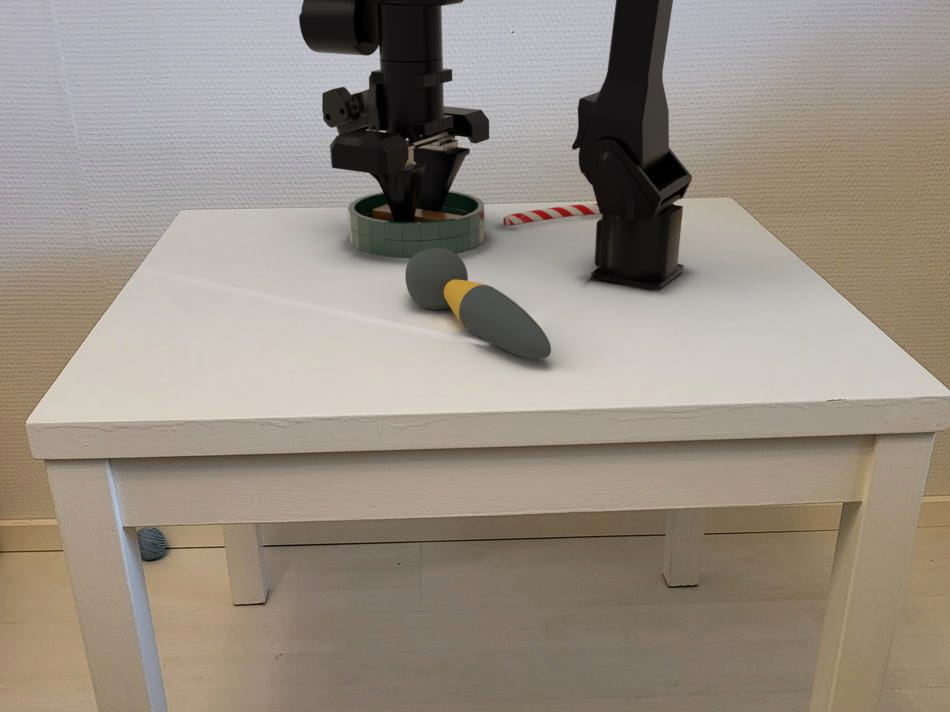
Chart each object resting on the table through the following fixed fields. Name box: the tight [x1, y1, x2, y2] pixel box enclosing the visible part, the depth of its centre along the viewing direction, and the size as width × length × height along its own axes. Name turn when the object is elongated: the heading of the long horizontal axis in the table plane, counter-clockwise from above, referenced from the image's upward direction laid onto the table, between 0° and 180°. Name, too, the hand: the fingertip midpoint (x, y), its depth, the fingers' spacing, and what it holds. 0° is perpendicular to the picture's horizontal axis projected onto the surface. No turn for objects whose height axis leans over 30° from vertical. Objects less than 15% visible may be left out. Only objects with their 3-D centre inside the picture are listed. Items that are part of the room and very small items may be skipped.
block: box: [372, 204, 461, 222], centre depth 97 cm, size 9×2×2 cm, turn 59°
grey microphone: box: [404, 248, 552, 360], centre depth 76 cm, size 20×5×5 cm, turn 38°
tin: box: [347, 190, 485, 259], centre depth 97 cm, size 13×13×4 cm
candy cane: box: [502, 203, 602, 226], centre depth 103 cm, size 8×1×15 cm
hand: (417, 228), depth 97 cm, fingers open, 4 cm apart
